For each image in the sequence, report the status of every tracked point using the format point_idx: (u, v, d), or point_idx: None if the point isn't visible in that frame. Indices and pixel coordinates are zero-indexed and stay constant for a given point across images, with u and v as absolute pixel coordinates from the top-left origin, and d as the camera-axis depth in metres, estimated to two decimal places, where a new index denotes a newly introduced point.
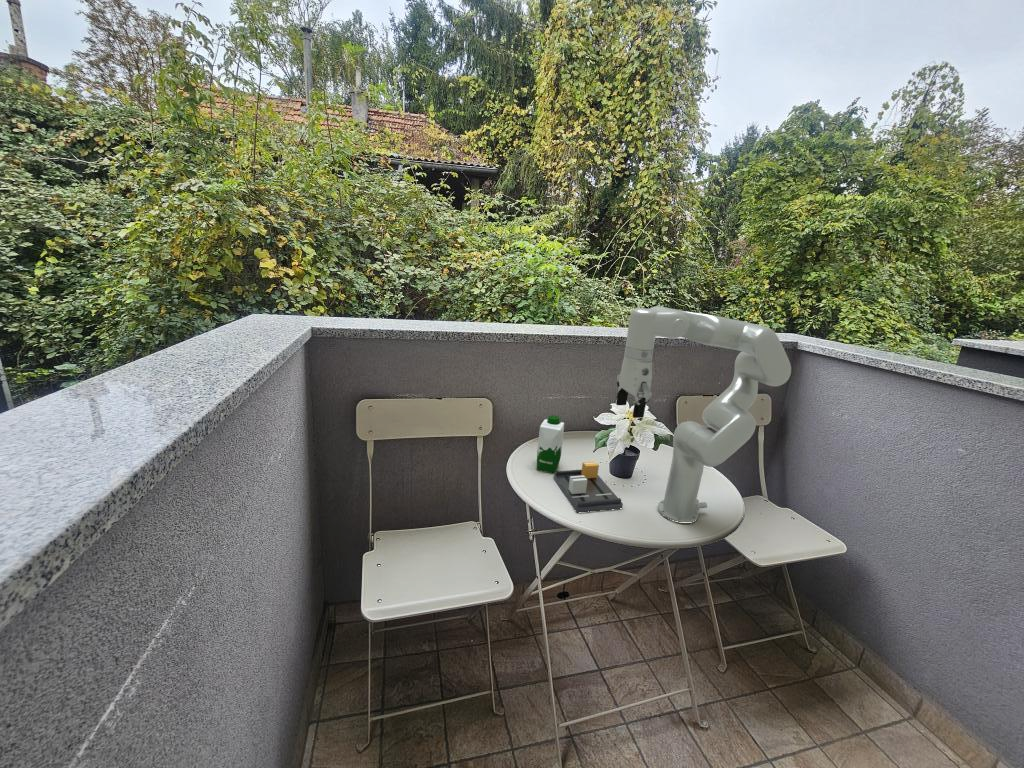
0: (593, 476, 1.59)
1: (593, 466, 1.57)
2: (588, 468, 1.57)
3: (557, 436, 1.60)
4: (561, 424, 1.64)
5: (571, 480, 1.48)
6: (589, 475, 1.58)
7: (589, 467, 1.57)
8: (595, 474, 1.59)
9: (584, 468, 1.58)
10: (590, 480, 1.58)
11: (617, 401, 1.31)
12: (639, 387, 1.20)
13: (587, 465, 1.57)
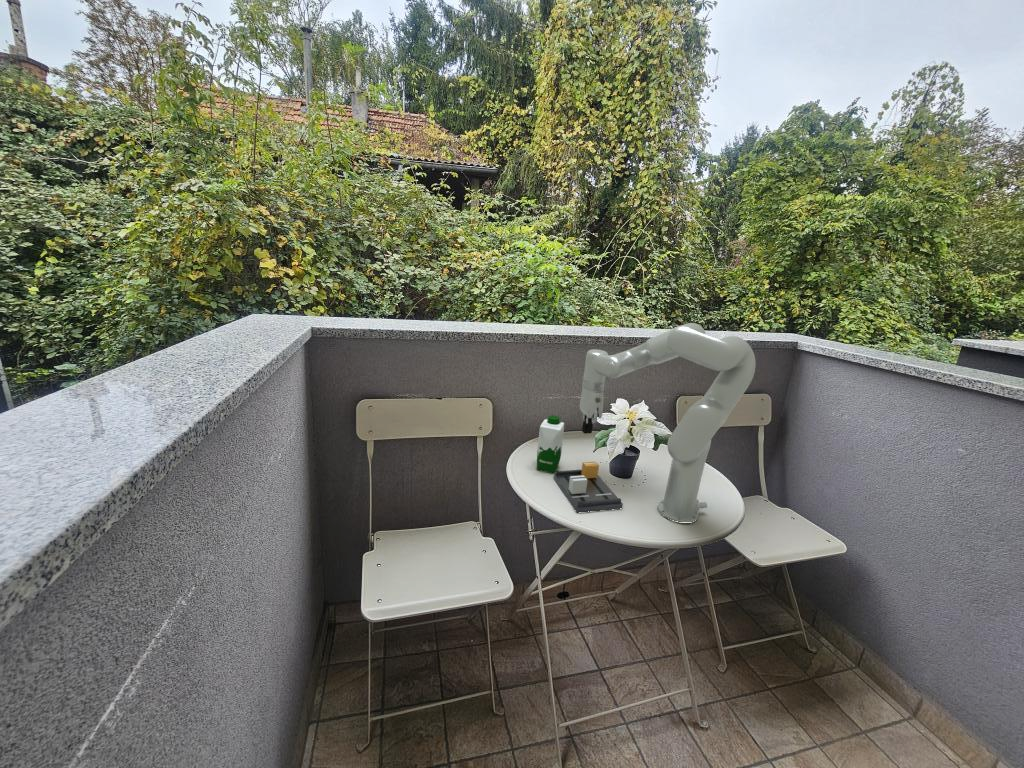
0: (593, 476, 1.59)
1: (593, 466, 1.57)
2: (588, 468, 1.57)
3: (557, 436, 1.60)
4: (561, 424, 1.64)
5: (571, 480, 1.48)
6: (589, 475, 1.58)
7: (589, 467, 1.57)
8: (595, 474, 1.59)
9: (584, 468, 1.58)
10: (590, 480, 1.58)
11: (583, 429, 1.61)
12: (593, 411, 1.53)
13: (587, 465, 1.57)
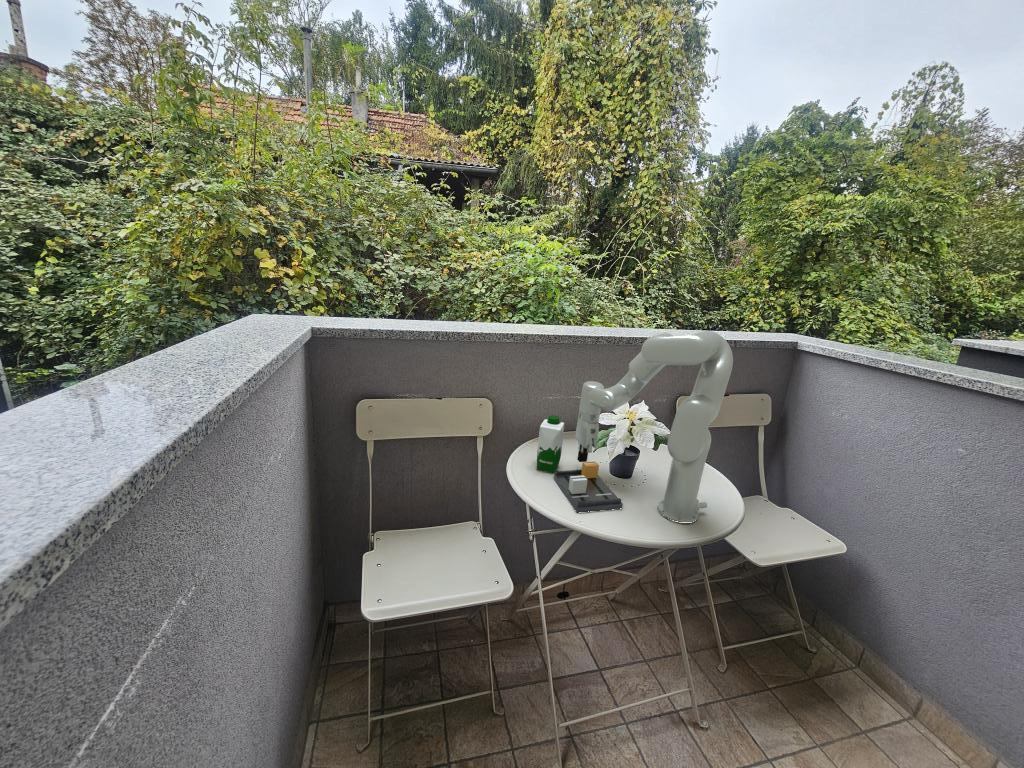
0: (593, 476, 1.59)
1: (593, 466, 1.57)
2: (588, 468, 1.57)
3: (557, 436, 1.60)
4: (561, 424, 1.64)
5: (571, 480, 1.48)
6: (589, 475, 1.58)
7: (589, 467, 1.57)
8: (595, 474, 1.59)
9: (584, 468, 1.58)
10: (590, 480, 1.58)
11: (578, 457, 1.64)
12: (588, 442, 1.57)
13: (587, 465, 1.57)
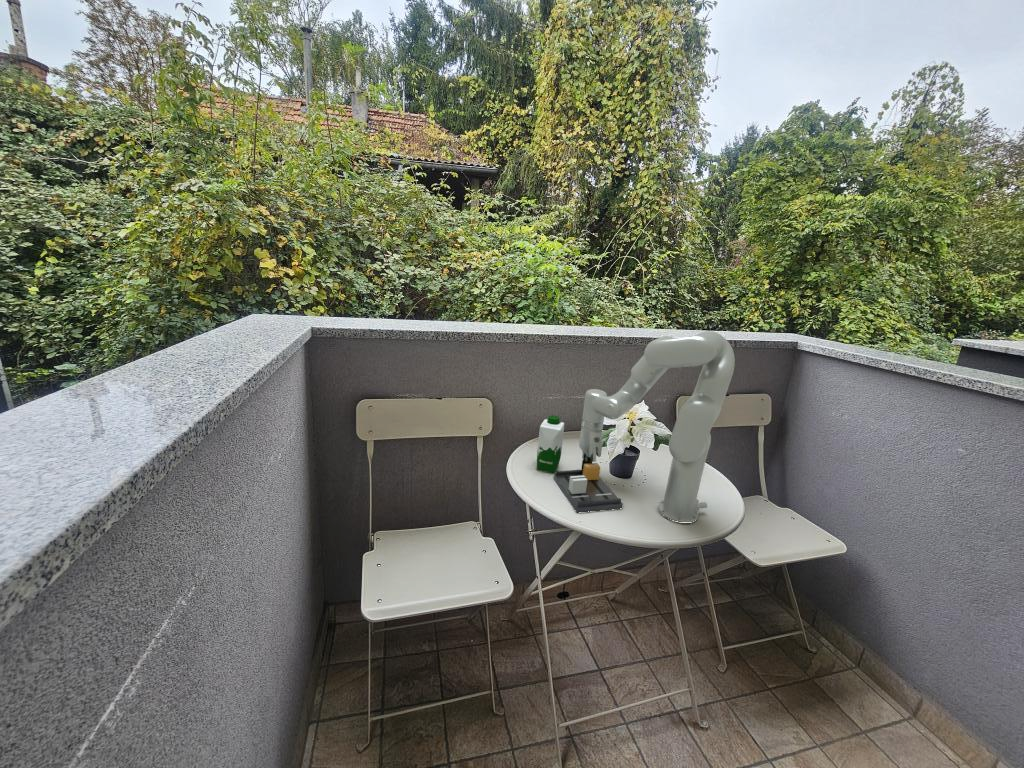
0: (594, 478, 1.57)
1: (594, 468, 1.56)
2: (590, 469, 1.56)
3: (557, 436, 1.60)
4: (561, 424, 1.64)
5: (571, 480, 1.48)
6: (590, 476, 1.57)
7: (590, 468, 1.56)
8: (596, 476, 1.57)
9: (585, 470, 1.57)
10: (590, 480, 1.58)
11: (582, 467, 1.62)
12: (592, 451, 1.54)
13: (588, 467, 1.56)
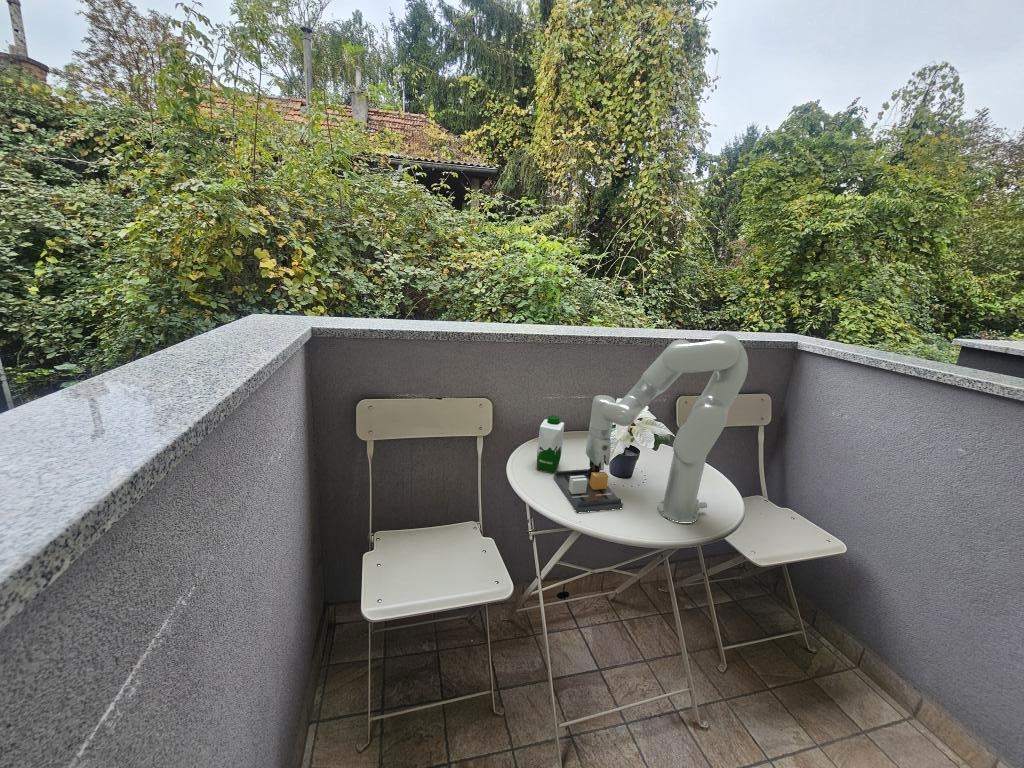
0: (602, 487, 1.52)
1: (602, 477, 1.50)
2: (597, 478, 1.50)
3: (557, 436, 1.60)
4: (561, 424, 1.64)
5: (571, 480, 1.48)
6: (598, 485, 1.51)
7: (598, 477, 1.50)
8: (604, 485, 1.52)
9: (593, 479, 1.51)
10: None
11: (589, 475, 1.56)
12: (600, 459, 1.49)
13: (596, 476, 1.50)
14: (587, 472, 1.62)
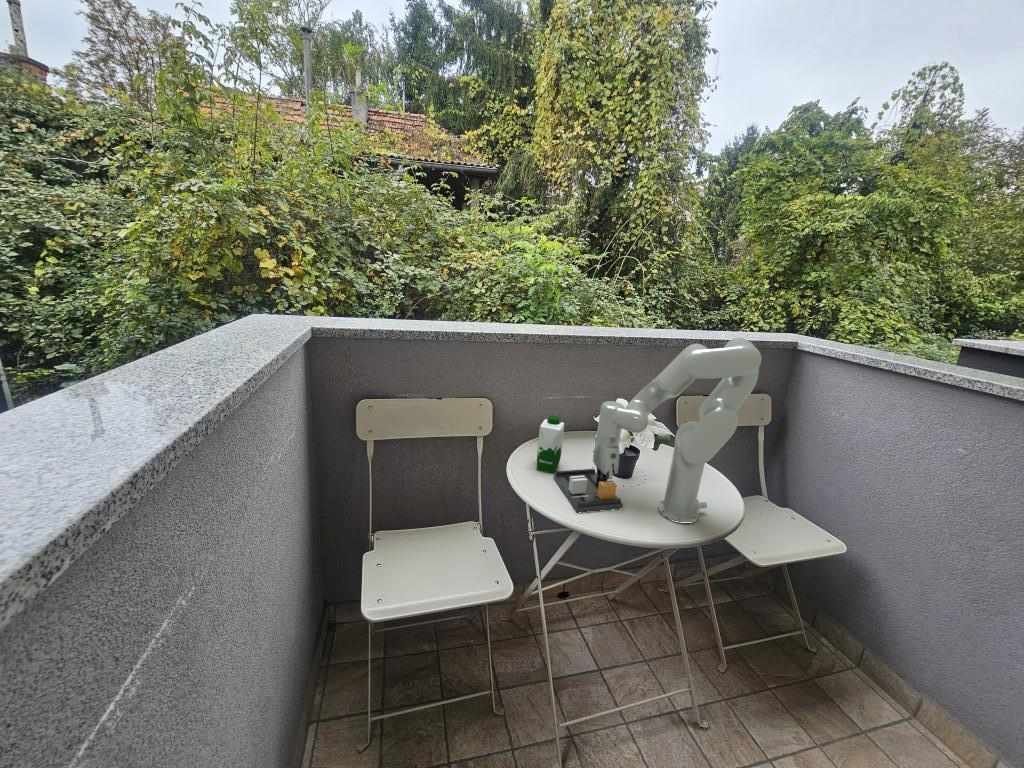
0: (610, 497, 1.46)
1: (610, 486, 1.45)
2: (605, 488, 1.45)
3: (557, 436, 1.60)
4: (561, 424, 1.64)
5: (571, 480, 1.48)
6: (606, 495, 1.46)
7: (606, 486, 1.44)
8: (612, 494, 1.46)
9: (601, 488, 1.45)
10: (590, 480, 1.58)
11: (597, 484, 1.50)
12: (608, 468, 1.43)
13: (604, 485, 1.45)
14: (587, 472, 1.62)
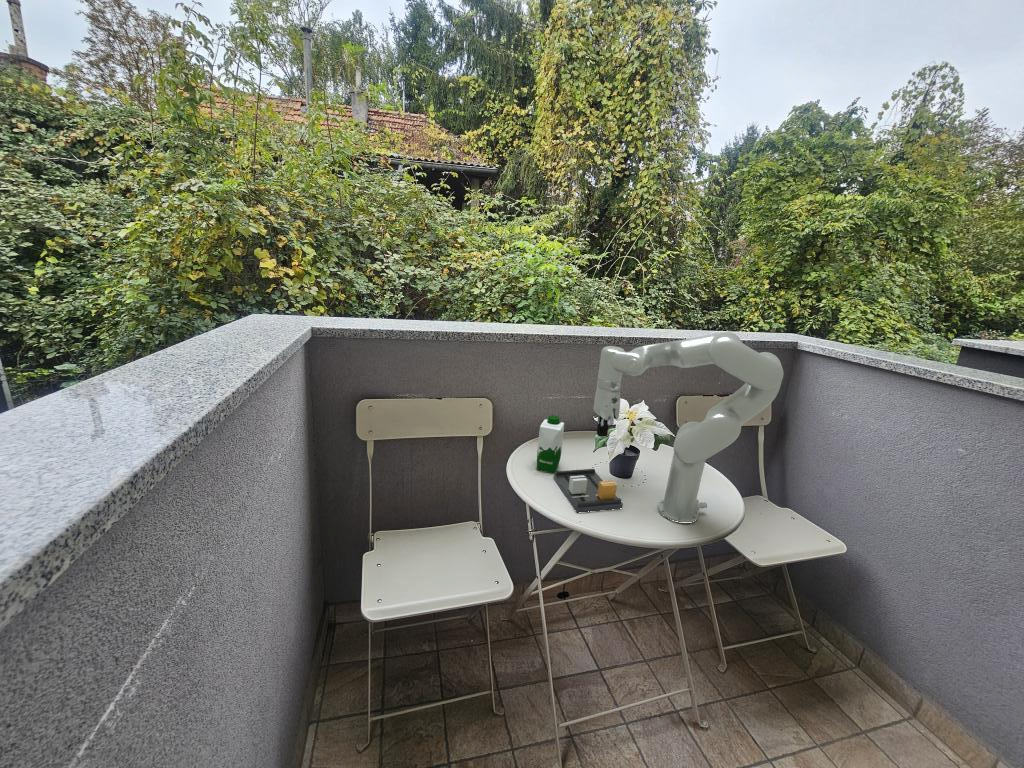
0: (610, 497, 1.46)
1: (611, 486, 1.45)
2: (605, 488, 1.44)
3: (557, 436, 1.60)
4: (561, 424, 1.64)
5: (571, 480, 1.48)
6: (606, 495, 1.45)
7: (606, 487, 1.44)
8: (613, 494, 1.46)
9: (601, 488, 1.45)
10: (590, 480, 1.58)
11: (598, 432, 1.50)
12: (609, 413, 1.43)
13: (604, 485, 1.45)
14: (587, 472, 1.62)
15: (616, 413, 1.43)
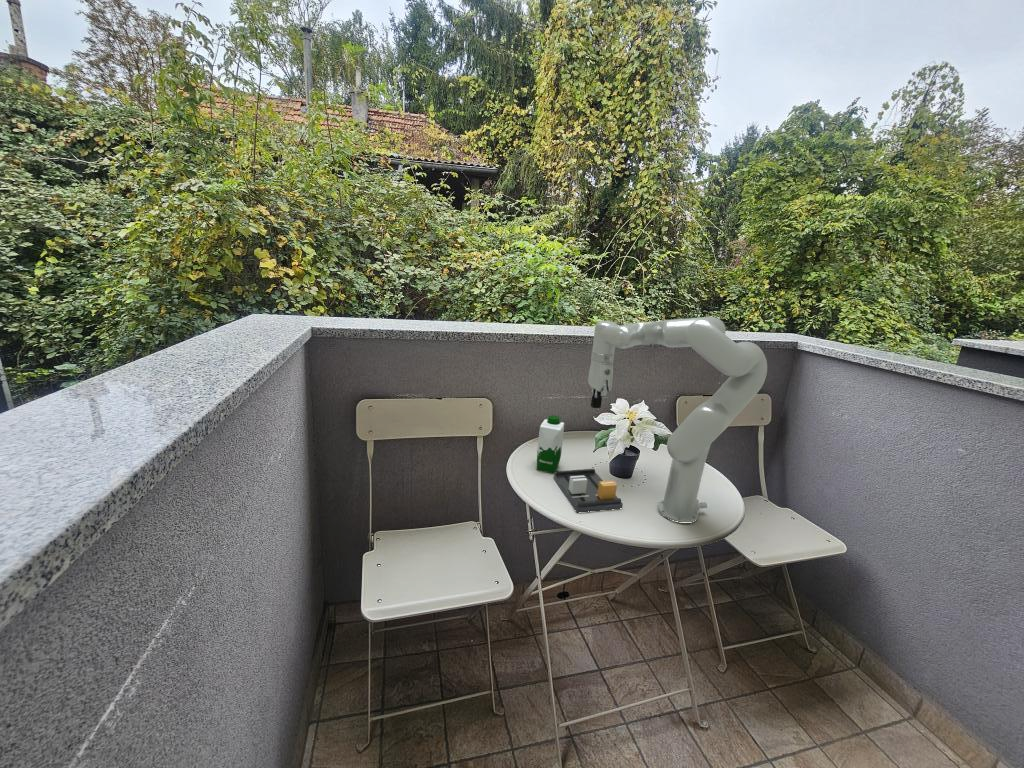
0: (610, 497, 1.46)
1: (611, 486, 1.45)
2: (605, 488, 1.44)
3: (557, 436, 1.60)
4: (561, 424, 1.64)
5: (571, 480, 1.48)
6: (606, 495, 1.45)
7: (606, 487, 1.44)
8: (613, 494, 1.46)
9: (601, 488, 1.45)
10: (590, 480, 1.58)
11: (592, 404, 1.57)
12: (602, 384, 1.49)
13: (604, 485, 1.45)
14: (587, 472, 1.62)
15: (609, 385, 1.50)
